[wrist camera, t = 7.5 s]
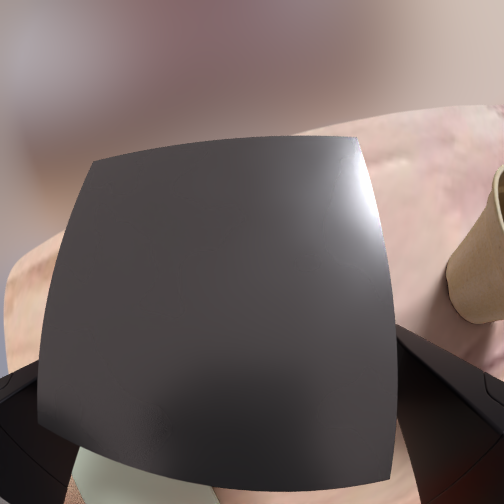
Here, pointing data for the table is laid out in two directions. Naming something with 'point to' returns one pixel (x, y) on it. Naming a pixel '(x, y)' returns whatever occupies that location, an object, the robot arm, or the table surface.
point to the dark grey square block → (226, 317)
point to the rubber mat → (132, 484)
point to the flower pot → (481, 263)
